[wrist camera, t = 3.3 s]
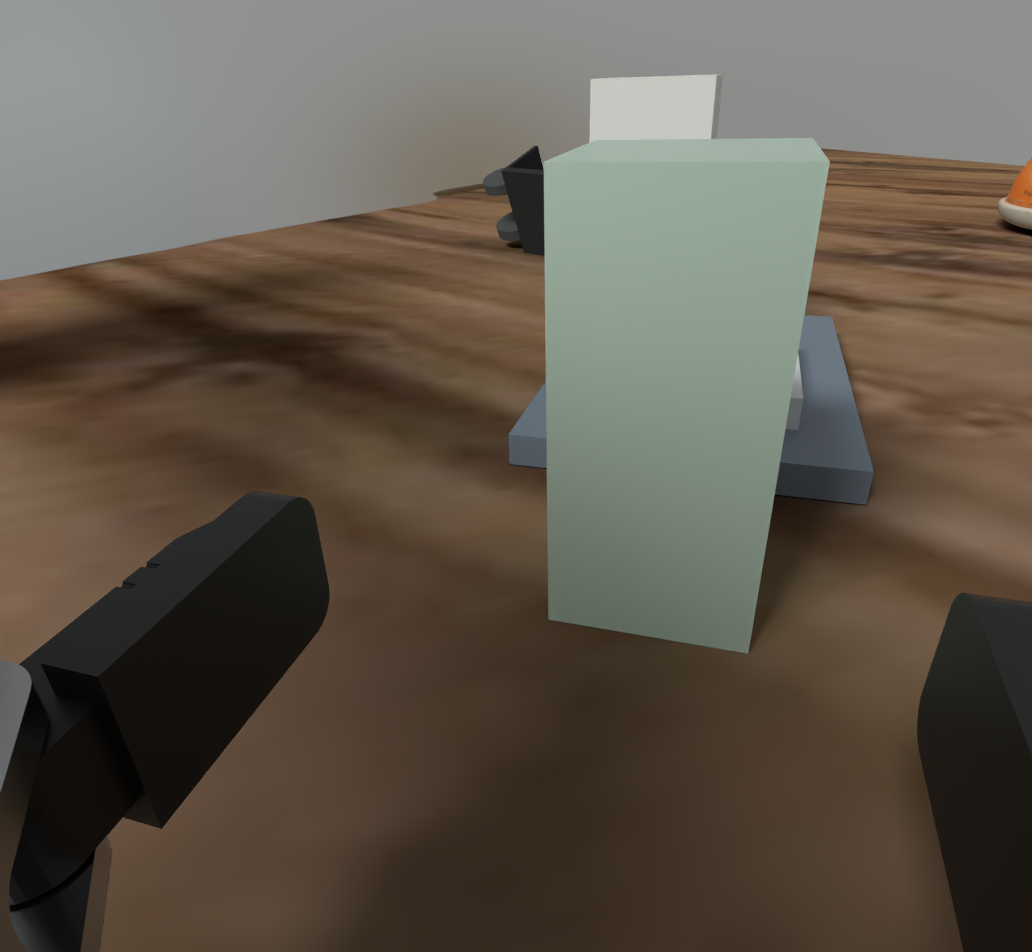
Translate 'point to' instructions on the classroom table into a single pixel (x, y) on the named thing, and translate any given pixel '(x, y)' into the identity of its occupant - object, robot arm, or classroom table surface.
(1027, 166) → the stacking toy
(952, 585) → the classroom table surface
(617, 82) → the standing pillar
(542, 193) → the character figurine
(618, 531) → the sage pillar
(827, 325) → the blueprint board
